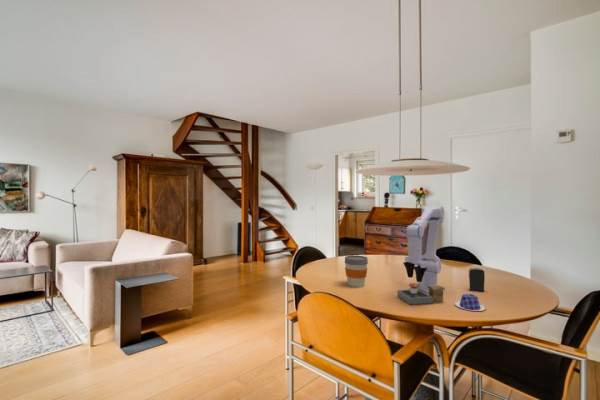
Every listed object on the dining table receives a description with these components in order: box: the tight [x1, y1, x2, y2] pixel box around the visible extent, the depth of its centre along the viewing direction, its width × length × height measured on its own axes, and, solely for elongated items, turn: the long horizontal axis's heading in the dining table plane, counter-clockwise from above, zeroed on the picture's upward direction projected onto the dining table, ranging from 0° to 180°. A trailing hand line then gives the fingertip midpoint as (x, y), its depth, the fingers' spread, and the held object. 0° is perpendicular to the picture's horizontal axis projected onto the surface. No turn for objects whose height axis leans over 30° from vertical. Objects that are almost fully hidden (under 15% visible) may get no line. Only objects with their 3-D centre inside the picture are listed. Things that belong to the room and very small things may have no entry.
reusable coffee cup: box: [344, 255, 369, 288], centre depth 166 cm, size 13×13×15 cm
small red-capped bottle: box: [408, 282, 419, 298], centre depth 141 cm, size 4×4×7 cm
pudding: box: [454, 293, 486, 312], centre depth 133 cm, size 12×12×5 cm
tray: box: [396, 288, 433, 306], centre depth 142 cm, size 12×11×3 cm
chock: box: [428, 284, 445, 304], centre depth 140 cm, size 5×6×7 cm
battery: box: [468, 267, 486, 292], centre depth 156 cm, size 7×4×11 cm, turn 70°
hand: (414, 279), depth 142 cm, fingers open, 7 cm apart
